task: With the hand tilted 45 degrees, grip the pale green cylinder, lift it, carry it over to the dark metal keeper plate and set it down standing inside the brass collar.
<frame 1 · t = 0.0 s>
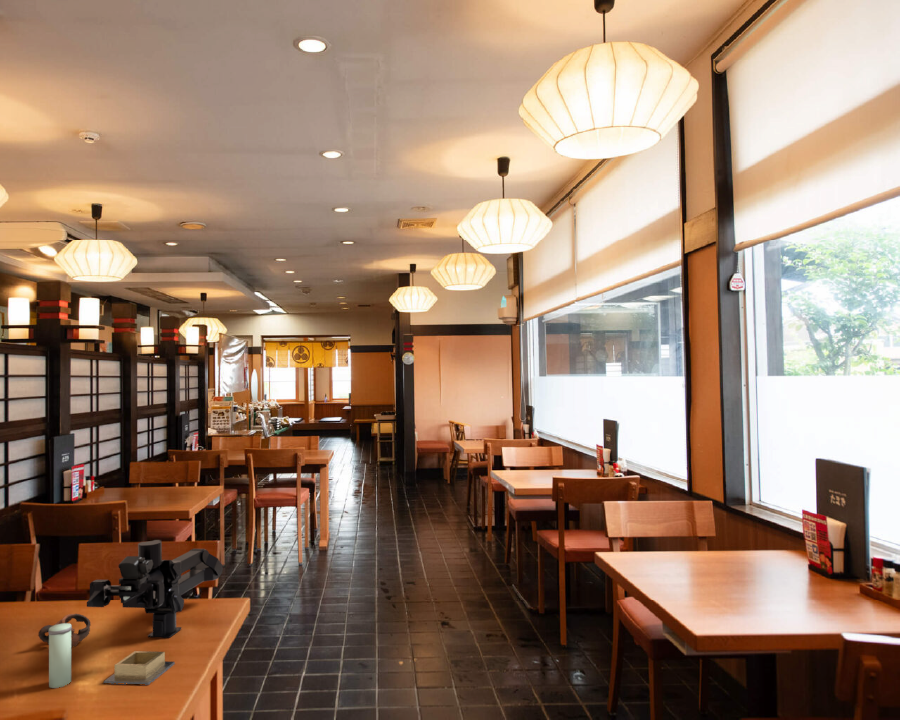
hand: (105, 604, 151), 17 cm above the table, tool horizontal, fingers open, 9 cm apart
pale green cylinder: (60, 683, 147), on the table
keeper: (140, 673, 151), on the table
dark double loop ring: (64, 644, 171), on the table
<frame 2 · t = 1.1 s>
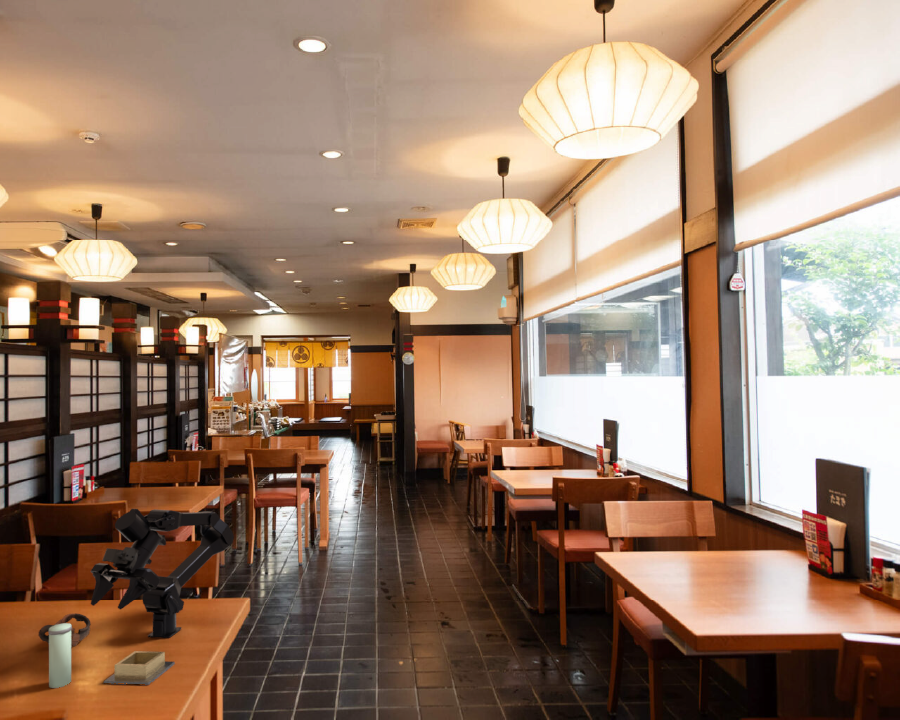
hand: (105, 606, 159), 14 cm above the table, tool tilted 45°, fingers open, 9 cm apart
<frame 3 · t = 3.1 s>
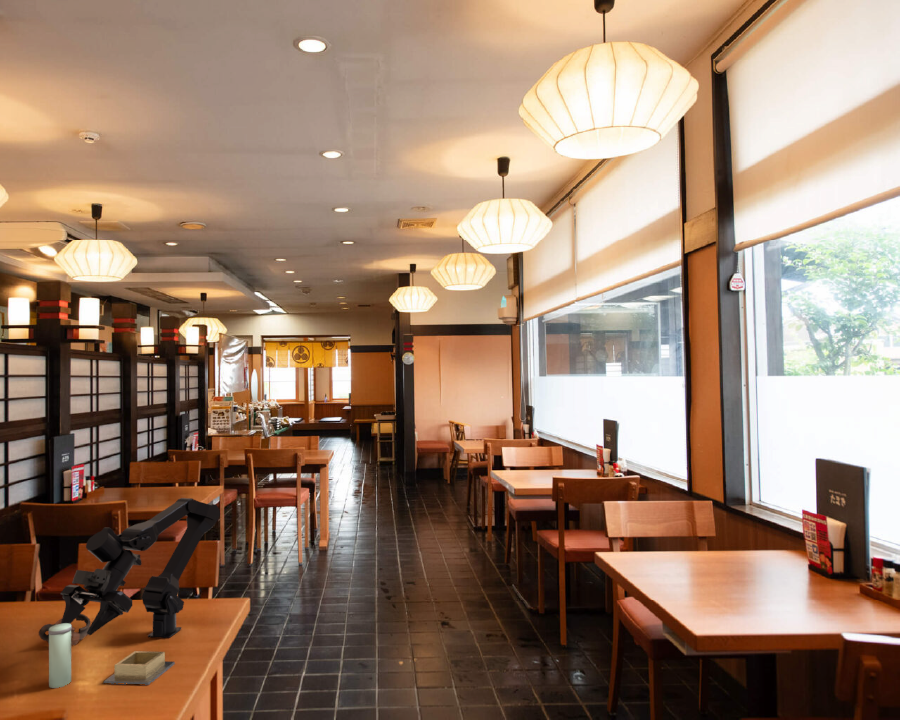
hand: (74, 631, 151), 10 cm above the table, tool tilted 45°, fingers open, 9 cm apart
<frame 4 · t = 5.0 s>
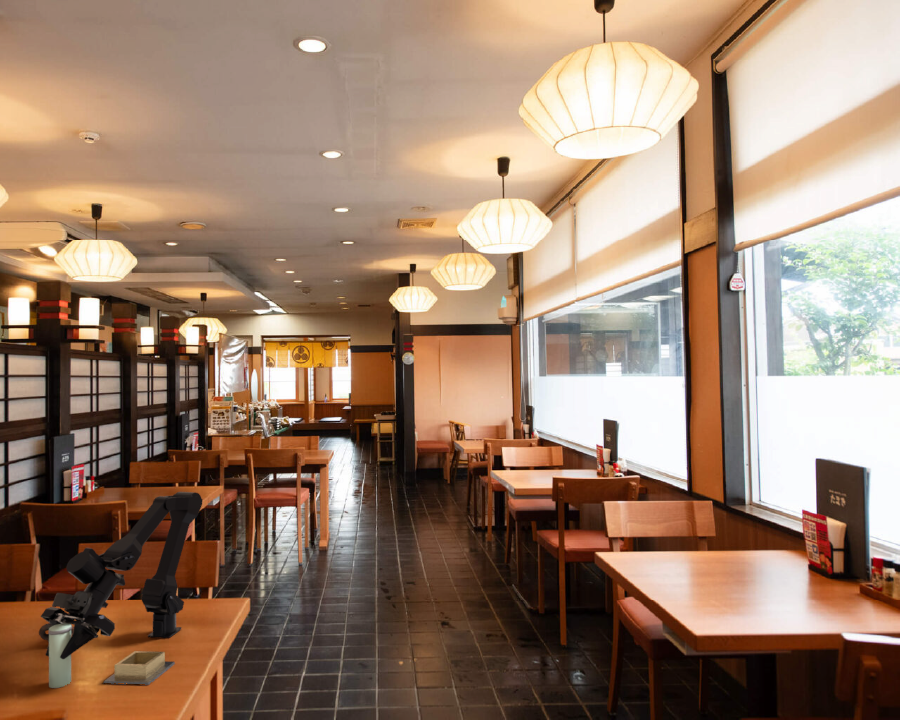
hand: (54, 657, 146), 7 cm above the table, tool tilted 45°, fingers closed on pale green cylinder, 4 cm apart
pale green cylinder: (60, 683, 147), on the table, touching gripper
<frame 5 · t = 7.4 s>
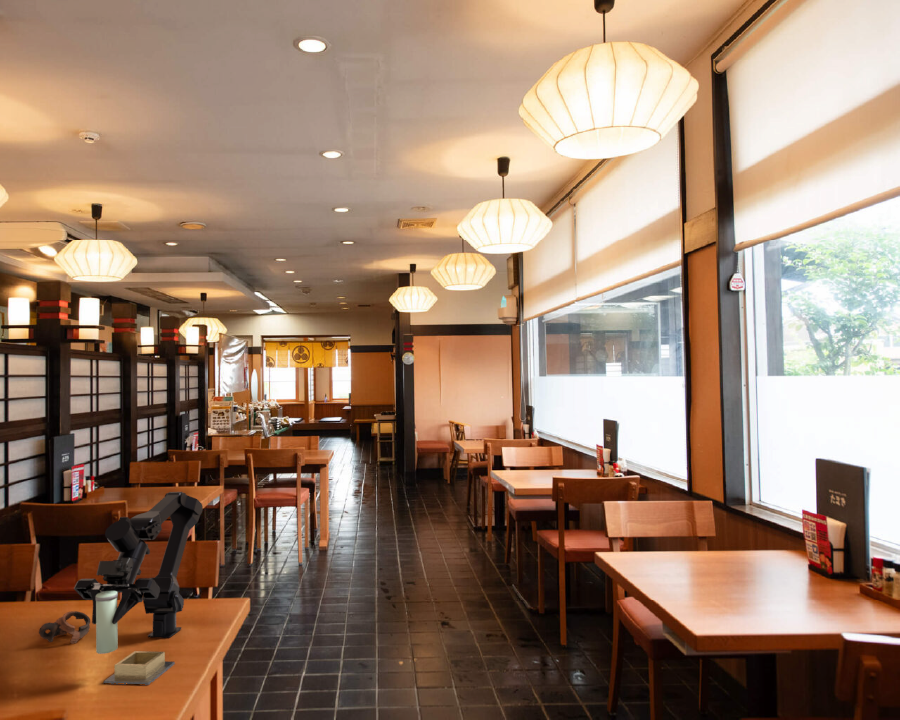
hand: (103, 623, 148), 14 cm above the table, tool tilted 45°, fingers closed on pale green cylinder, 4 cm apart
pale green cylinder: (107, 649, 149), point 7 cm above the table, touching gripper
when the fingers open (9 cm above the table, at t = 9.8 s): pale green cylinder drops 1 cm, resting on keeper.
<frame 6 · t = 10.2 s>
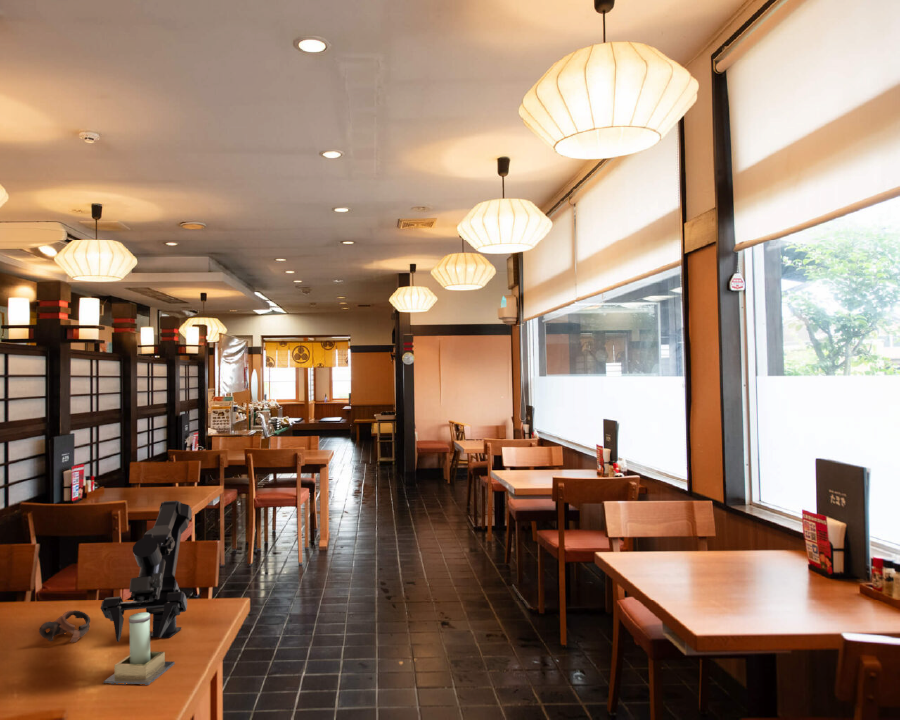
hand: (138, 639, 150), 9 cm above the table, tool tilted 45°, fingers open, 9 cm apart
pale green cylinder: (140, 670, 151), point 1 cm above the table, touching keeper
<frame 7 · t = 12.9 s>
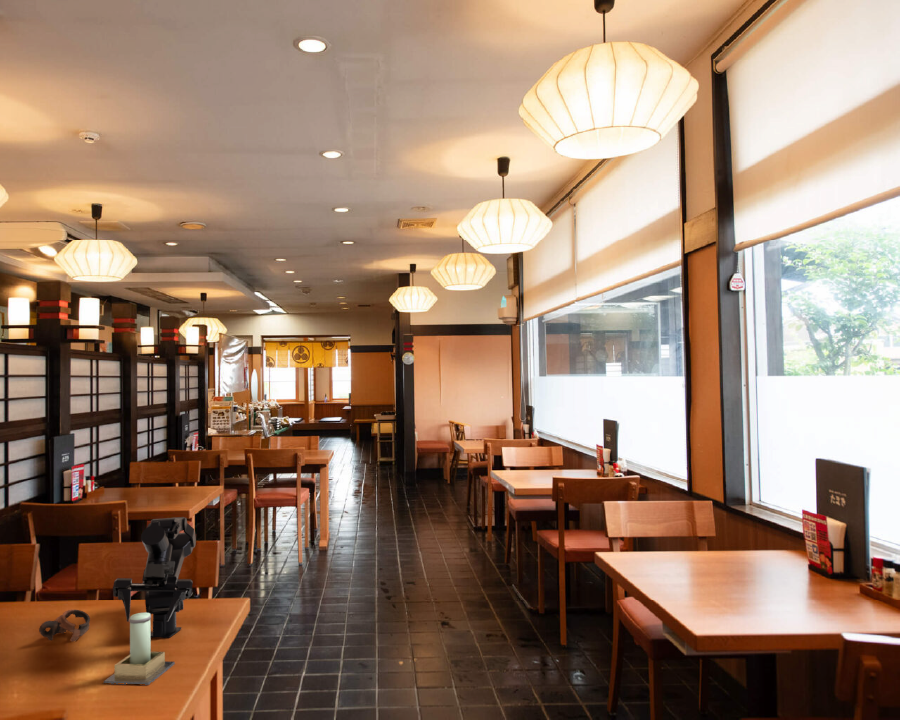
hand: (147, 621, 160), 9 cm above the table, tool tilted 40°, fingers open, 9 cm apart
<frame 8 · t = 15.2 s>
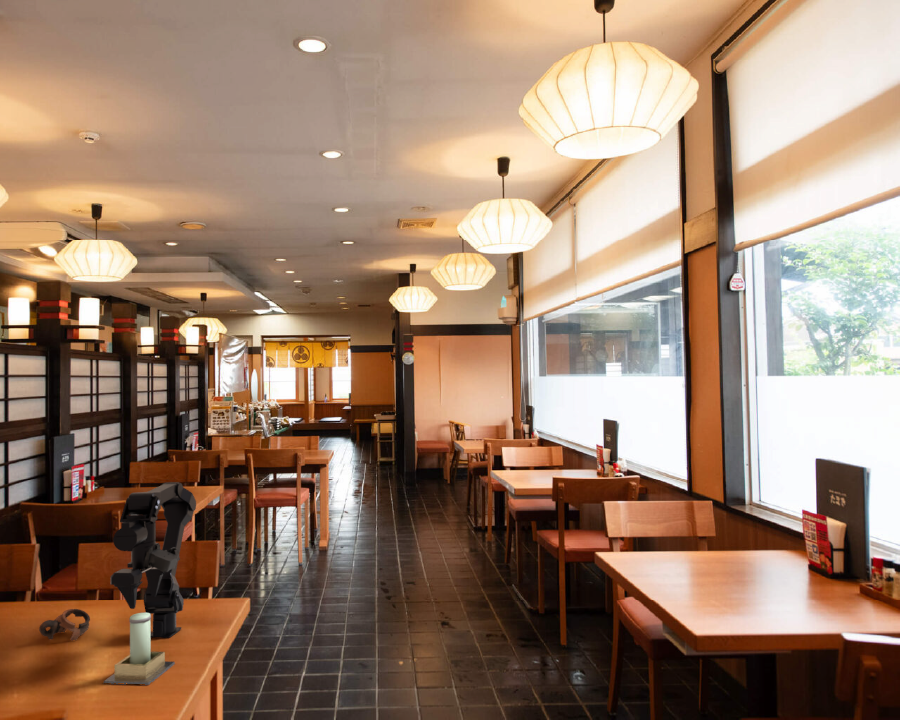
hand: (143, 602, 163), 13 cm above the table, tool pointing down, fingers open, 9 cm apart
at the end: pale green cylinder 0.0 cm off-centre on the keeper, point 0.6 cm above the keeper's base; pale green cylinder tilted 0°; the gripper is holding nothing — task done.
